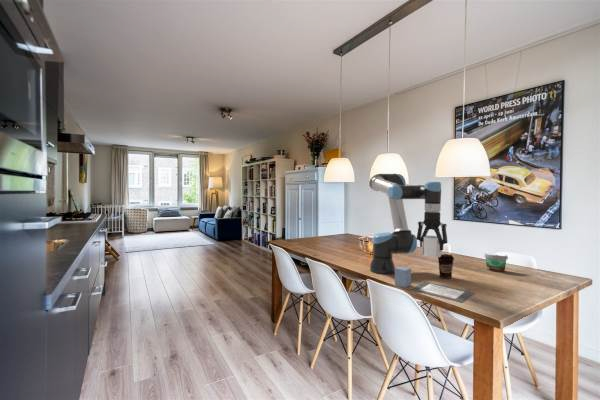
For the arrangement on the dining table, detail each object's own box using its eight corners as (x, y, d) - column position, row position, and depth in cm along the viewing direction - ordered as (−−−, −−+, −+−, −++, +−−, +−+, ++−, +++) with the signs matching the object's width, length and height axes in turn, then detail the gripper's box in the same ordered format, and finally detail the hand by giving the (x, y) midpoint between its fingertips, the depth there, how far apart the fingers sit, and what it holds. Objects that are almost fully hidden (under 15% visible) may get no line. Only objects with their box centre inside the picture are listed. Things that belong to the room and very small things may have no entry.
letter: (419, 289, 146) (419, 289, 146) (429, 283, 155) (429, 283, 155) (455, 298, 134) (455, 298, 134) (464, 291, 143) (464, 291, 143)
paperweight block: (394, 285, 154) (394, 268, 154) (400, 282, 158) (400, 266, 158) (405, 287, 150) (405, 270, 150) (410, 285, 154) (410, 268, 154)
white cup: (432, 258, 146) (433, 238, 146) (419, 255, 153) (420, 236, 153) (442, 256, 150) (443, 237, 149) (429, 253, 157) (430, 235, 156)
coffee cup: (456, 280, 162) (456, 257, 161) (440, 279, 163) (440, 256, 163) (451, 275, 170) (451, 253, 170) (436, 275, 172) (436, 253, 172)
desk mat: (410, 289, 147) (410, 289, 147) (425, 281, 159) (425, 281, 159) (462, 302, 130) (462, 302, 130) (474, 292, 142) (474, 292, 142)
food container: (486, 271, 179) (486, 255, 179) (484, 268, 185) (484, 253, 184) (510, 273, 174) (510, 257, 174) (507, 270, 180) (507, 254, 180)
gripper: (409, 210, 155) (409, 252, 156) (450, 213, 140) (449, 260, 142) (416, 209, 160) (415, 250, 162) (456, 212, 146) (454, 257, 147)
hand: (431, 255), depth 152 cm, fingers closed on white cup, 7 cm apart
